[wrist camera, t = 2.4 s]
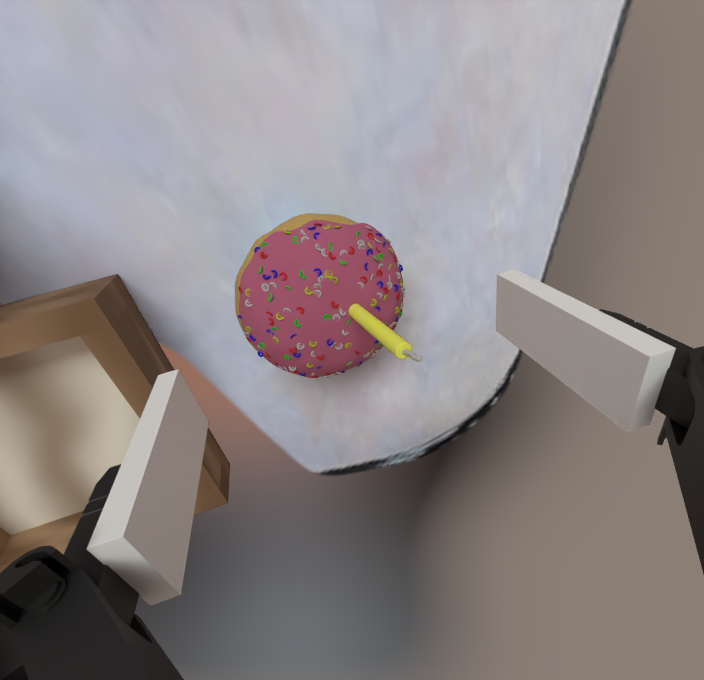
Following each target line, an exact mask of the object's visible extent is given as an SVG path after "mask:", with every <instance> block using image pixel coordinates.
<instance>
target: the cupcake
mask: <svg viewBox="0 0 704 680" xmlns="http://www.w3.org/2000/svg"><path fill="white" fill-rule="evenodd" d="M400 267H401V268H400ZM400 269H401V270H400ZM402 270H403V267H402V266H401V265H400V264H399V260H397V257H396V255H395V253H394V250H393V248H392V246H391V245H390V240H389V239H387V238H385V237H384V236H383V235H382V234H381V233H380V232H379V231H378V230H376V229H375V228H374V227H372V226H370V225H368V224H365V223H359V224H358V223H356V222H354V221H352V220H350V219H347V218H345V217H342V216H339V215H331V214H302V215H299V216H296V217H293V218H291V219H289V220H287V221H286V222H284V223H282V224H280V225H279V226H277V227H276V228H275V229H273V230H272V231H270V232H269V233H267V234H265V235H263V236H261V237H260V238H258V239H257V240H256V241H255V243H254V244H253V246H252V247H251V249H250V251H249V253H248V255H247V257H246V259H245V261H244V263H243V265H242V266H241V268H240V270H239V272H238V275H237V278H236V282H235V306H236V314H237V318H238V321H239V324H240V326H241V328H242V330H243V332H244V334H245V336H246V338H247V340H248V341H249V342H250V344H251V345H252V346H253V347H254V348H255V349H256V350H257V351H258V355H259V356H260V357H262V356H264V357H265V358H266V359H267V360H268V361H269V362H271V363H272V364H273V365H275V366H277V367H279V368H281V369H282V370H285V371H288V372H291V373H294V374H298V375H301V376H305V377H310V378H318V377H320V376H324V377H327V378H328V376H325V375H338V374H342V373H343V372H345V370H348V369H350V368H352V367H355V366H357V367H359V368H360V367H361V366H362V363H363V362H364V361H366V360H367V359H369V358H371V357H374V356H375V355H376V354H375V353H376V352H378V351H379V350H380V349H381V347H382V346H383V345H384V346H385V347H386V348H387V349H388V350H389V351H390V352H392V353H393V354H394V355H395V356H396V357H397V358H399V359H405V358H407V357H408V356H409V357H410V358H412V359H413V360H415V361H422V357H421V356H418V355H416V354H415V353H414V352H412V347H411V345H410V344H409V343H408V342H407V341H406V340H404V339H403V338H402V337H400V336H399V335H398V334H396V333H395V332H394V331H393V330H394V328H395V327H396V324H397V322H398V320H399V318H400V317H401V315H402V307H403V298H404V296H405V288H403V280H402V275H401V271H402ZM260 354H262V355H260ZM359 365H360V366H359ZM337 373H338V374H337Z"/></svg>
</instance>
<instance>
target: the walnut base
mask: <svg viewBox="0 0 704 680" xmlns="http://www.w3.org/2000/svg"><path fill="white" fill-rule="evenodd" d="M170 371H174V369H173V367H172V365H171V364H170V362H169V360H168V358H167V357H166V355H165V353H164V352H163V350H162V348H161V347H160V345H159V343H158V342H157V340H156V338H155V336H154V335H153V333H152V331H151V330H150V328H149V326H148V325H147V323H146V321H145V320H144V318H143V316H142V315H141V313H140V311H139V309H138V308H137V306H136V304H135V303H134V301H133V299H132V298H131V296H130V294H129V293H128V291H127V289H126V287H125V286H124V284H123V282H122V281H121V279H120V277H119V276H118V274H116V275H112V276H109V277H105V278H101V279H98V280H94V281H90V282H86V283H83V284H79V285H75V286H72V287H68V288H64V289H60V290H57V291H53V292H49V293H46V294H42V295H38V296H35V297H31V298H27V299H23V300H20V301H16V302H12V303H9V304H5V305H1V306H0V573H1V572H2V571H3V570H4V569H5V568H6V567H7V566H9V565H10V564H11V563H12V562H13V561H14V560H16V559H17V558H19V557H20V556H22V555H23V554H25V553H26V552H28V551H30V550H33V549H35V548H38V547H40V546H50V545H51V546H53V547H54V548H56V549H57V550H58V551H60V552H61V553H62V554H64V552H65V550H66V548H67V546H68V543H69V541H70V539H71V537H72V535H73V533H74V531H75V528H76V526H77V524H78V522H79V520H80V518H81V517H83V515H82V513H83V511H84V509H85V507H86V505H87V504H88V503H89V501H88V500H89V498H90V496H91V494H92V492H93V489H94V487H95V485H96V483H97V482H98V481H99V480H100V479H101V477H102V476H103V475H104V474H105V473H106V471H107V470H108V469H109V468H110V467H113V466H117V465H120V464H122V462H123V459H124V457H125V454H126V452H127V450H128V447H129V445H130V442H131V440H132V437H133V435H134V433H135V430H136V428H137V425H138V423H139V420H140V418H141V416H142V413H143V411H144V408H145V406H146V404H147V401H148V399H149V396H150V394H151V391H152V389H153V387H154V384H155V382H156V379H157V377H158V375H160V374H164V373H167V372H170ZM229 473H230V463H229V462H228V460H227V458H226V457H225V455H224V453H223V451H222V450H221V448H220V447H219V445H218V443H217V441H216V440H215V438H214V436H213V435H212V433H211V432H210V429H209V428H208V429H207V436H206V442H205V448H204V454H203V460H202V466H201V473H200V479H199V485H198V491H197V497H196V503H195V509H194V515H196V514H198V513H201V512H204V511H207V510H210V509H213V508H215V507H218V506H221V505H224V504H227V503H228V492H229V491H228V490H229Z"/></svg>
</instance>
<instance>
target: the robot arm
mask: <svg viewBox="0 0 704 680" xmlns="http://www.w3.org/2000/svg"><path fill="white" fill-rule="evenodd" d="M496 331H497V332H499V333H500V334H501V335H503V336H504V337H505V338H506V339H508V340H509V341H510V342H512V343H513V344H514V345H515V346H517V347H518V348H519V349H521V350H522V351H523V352H524V353H526V354H527V355H528V356H530V357H531V358H532V359H533V360H535V361H536V362H537V363H539V364H540V365H541V366H542V367H544V368H545V369H546V370H548V371H549V372H550V373H551V374H553V375H554V376H555V377H557V378H558V379H559V380H560V381H562V382H563V383H564V384H566V385H567V386H568V387H569V388H571V389H572V390H573V391H575V392H576V393H577V394H578V395H580V396H581V397H583V398H584V399H585V400H586V401H587V402H589V403H590V404H591V405H593V406H594V407H595V408H596V409H598V410H599V411H600V412H602V413H603V414H604V415H605V416H607V417H608V418H609V419H611V420H612V421H613V422H614V423H616V424H617V425H618V426H620V427H621V428H622V429H623V430H625V431H626V432H630V431H633V430H635V429H638V428H641V427H644V426H647V425H649V424H650V422H651V420H652V416H653V414H654V410H655V409H657V410H658V411H660V412H661V413H663V414H664V415H666V418H665V421H664V423H663V426H662V429H661V432H660V434H659V437H658V442H657V444H659V445H662V444H663V441H664V439H665V438H667V440H668V443H669V447H670V451H671V454H672V458H673V461H674V466H675V469H676V473H677V477H678V480H679V484H680V488H681V492H682V495H683V499H684V502H685V507H686V510H687V514H688V518H689V521H690V525H691V529H692V532H693V536H694V540H695V543H696V547H697V551H698V555H699V559H700V562H701V566H702V570H703V573H704V346H703V347H699V348H695V349H693V348H691V347H689V346H687V345H685V344H683V343H681V342H678V341H676V340H674V339H672V338H670V337H667V336H666V335H663V334H661V333H659V332H657V331H655V330H653V329H651V328H647V327H646V326H644V325H642V324H640V323H638V322H636V323H635V322H634V320H632V319H629V318H627V317H625V316H623V315H621V314H618V313H614V312H610V311H606V310H602V309H600V310H597V309H595V308H593V307H590V306H588V305H586V304H584V303H582V302H580V301H578V300H576V299H574V298H572V297H570V296H568V295H566V294H564V293H562V292H560V291H558V290H556V289H554V288H552V287H550V286H548V285H546V284H543V283H541V282H539V281H537V280H535V279H533V278H531V277H529V276H527V275H525V274H523V273H521V272H519V271H517V270H515V269H512V270H509V271H505V272H502V273H499V274H497V304H496ZM208 422H209V421H208V419H207V417H206V415H205V414H204V412H203V410H202V409H201V407H200V405H199V403H198V402H197V400H196V398H195V396H194V395H193V393H192V391H191V390H190V388H189V386H188V384H187V382H186V381H185V379H184V377H183V376H182V374H181V372H180V371H179V369H177V370H174V371H170V372H167V373H164V374H160V375H158V377H157V379H156V382H155V384H154V387H153V389H152V391H151V394H150V396H149V399H148V401H147V404H146V406H145V408H144V411H143V413H142V416H141V418H140V420H139V423H138V425H137V428H136V430H135V433H134V435H133V437H132V440H131V442H130V445H129V447H128V450H127V452H126V454H125V457H124V459H123V462H122V464H120V465H117V466H113V467H110V468H109V469H108V470H107V471H106V473H105V474H104V475H103V476H102V477H101V479H100V480H99V481H98V482H97V483H96V485H95V487H94V489H93V492H92V494H91V496H90V498H89V500H88V501H89V503H88V504H87V505H86V507H85V509H84V511H83V513H82V515H83V517H81V518H80V520H79V522H78V524H77V526H76V528H75V531H74V533H73V535H72V537H71V539H70V541H69V543H68V546H67V548H66V550H65V552H64V554H62V553H61V552H60V551H58V550H57V549H56V548H54V547H53V546H51V545H50V546H40V547H38V548H35V549H33V550H30V551H28V552H26V553H25V554H23V555H22V556H20V557H19V558H17V559H16V560H14V561H13V562H12V563H11V564H10V565H9V566H7V567H6V568H5V569H4V570H3V571H2V572H1V573H0V680H184V679H183V678H182V676H181V675H180V674H179V672H178V671H177V669H176V668H175V667H174V665H173V664H172V662H171V661H170V660H169V658H168V657H167V655H166V654H165V652H164V651H163V650H162V648H161V647H160V645H159V644H158V643H157V641H156V640H155V638H154V637H153V635H152V634H151V633H150V631H149V630H148V628H147V627H146V625H145V624H144V623H143V621H142V620H141V618H140V617H139V616H137V615H136V614H135V613H134V612H135V608H136V604H137V600H138V596H140V597H141V598H142V599H143V600H145V601H146V602H147V603H148V604H149V605H150V606H151V605H154V604H156V603H159V602H162V601H165V600H167V599H170V598H173V597H176V596H179V595H180V594H181V589H182V583H183V577H184V571H185V564H186V559H187V553H188V546H189V540H190V534H191V528H192V522H193V516H194V509H195V503H196V497H197V491H198V485H199V479H200V473H201V466H202V460H203V454H204V448H205V442H206V436H207V429H208Z"/></svg>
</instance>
